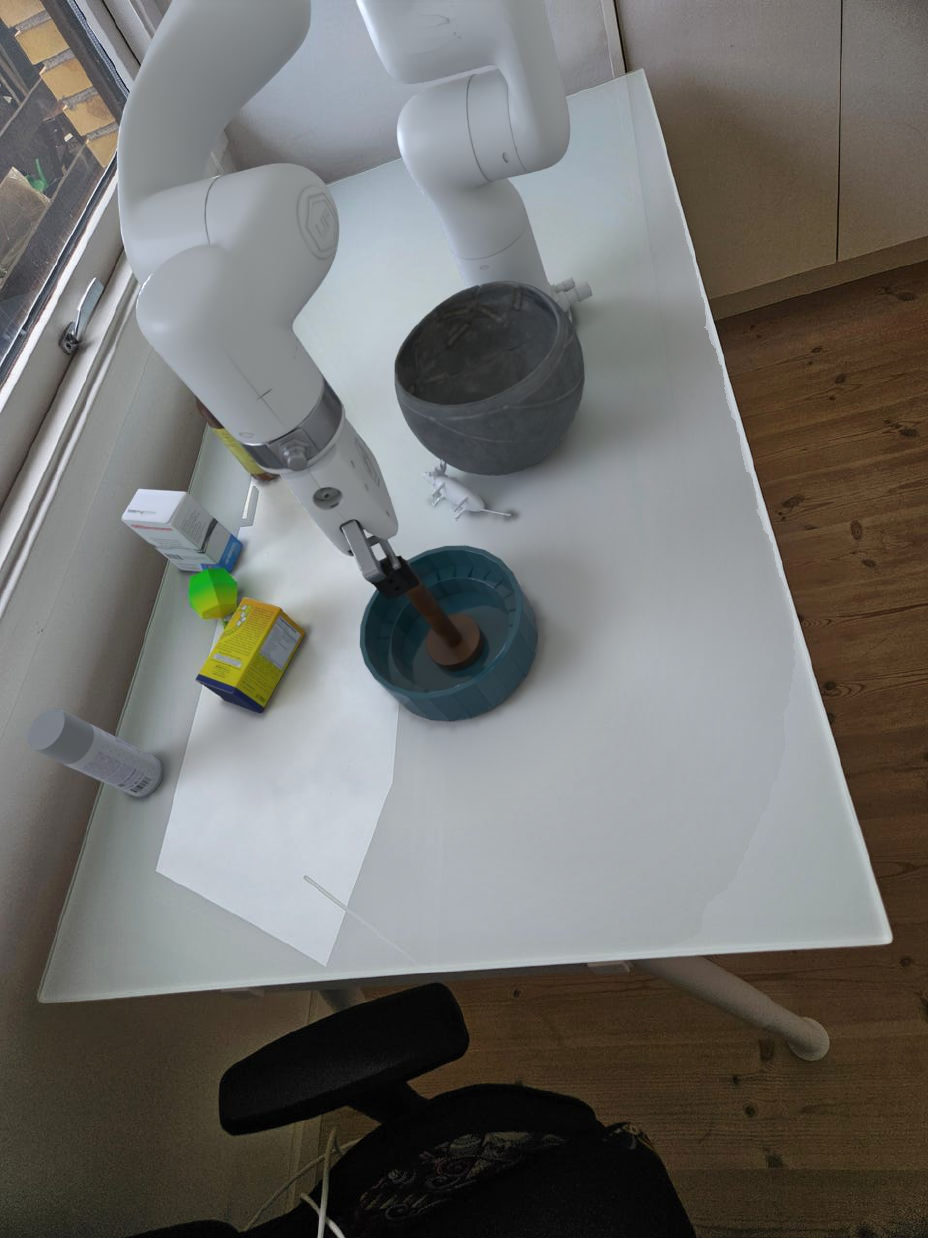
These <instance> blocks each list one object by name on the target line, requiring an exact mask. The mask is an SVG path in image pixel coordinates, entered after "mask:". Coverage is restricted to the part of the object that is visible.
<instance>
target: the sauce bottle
mask: <svg viewBox="0 0 928 1238" xmlns="http://www.w3.org/2000/svg"><path fill="white" fill-rule="evenodd" d="M193 395H194V403H195V407H196V409H197V411H198V413H199V414H200V415H201V416H202V418H203V419H204V420H205V421H206V422H207V424H208V426H209V427H210V429H211V430H212V431H213V433H214V434H215V435H216V436H217V437H218V439H220V441H221V442H222V443H223V444H224V446H225V447H226V448H227V449H228V450H229V452H230V453H231V454H232V455H233V456H234V458H235V459H236V460H237V461H238V462H239V464H240V465H241V466H242V467H243V469H244V470H245V471H246V472H247V473H249V474H250V475H251V477H252V478H254V479H255V480H257V481H261V482H267V481H271V480H273V479H275V478H277V477H278V476H280V474H273V473H269V472H267V471H265V470H263V469H261V468H260V467H259V466H258V465H257V463H256V462H255V461H254V460H253V459H252V458H251V457H250V455H249V454H248V453H247V452H246V451H245V450H244V449H243V448H242V447H241V445H240V444H239V443H238V442H237V441H236V440H235V439H234V437H233V436H232V435H231V434H230V433H229V432H228V431H227V430H226V429H225V428H224V426H223V425H222V424H221V423H220V422H219V421H218V420H217V419H216V417H215V416H214V415H213V414H212V413H211V412H210V411H209V410H208V409H207V407H206V406H205V405H204V404H203V403H202V402H201V401H200V400H199V398H198V397H197V396H196V395H195V394H194V393H193Z"/></svg>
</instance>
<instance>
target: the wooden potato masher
mask: <svg viewBox="0 0 928 1238" xmlns="http://www.w3.org/2000/svg"><path fill="white" fill-rule="evenodd" d="M403 559H404V560H405V562H406V563H407V564H408V566H409V567H410V568H411V570H412V571H413V572H414V573H415V575H416V576H417V577H418V580H419V582H420V584H419V585H418V586H417V587H415V588H413V589H411V590H409V591H407V592H406V593H405V595H406V596H407V598H408V599H409V600H410V601H411V603H412V604H413V605H414V606H415V608H416V609H417V610H418V612H419V613H420V614H421V615H422V617H423V618H424V619H425V620H426V622H427V623H428V624H429V625H430V627H431V629H430V631H429V633H428V635H427V638H426V650H427V653H428V655H429V657H430V658H431V659H432V660H433V661H434V663H435V664H436V665H437V666H438V667H440V668H441V669H443V670H446V671H460V670H463V669H466V668H468V667H469V666H471V665H472V664H473V663H475V662H476V661H477V659H478V658H479V657H480V655H481V653H482V651H483V648H484V635H483V632H482V630H481V629H480V627H479V626H478V624H477V623H476V622H475V620H474V619H472V618H471V617H469V616H467V615H464V614H451V615H448V616H447V615H446V613H445V612H444V611H443V609H442V608H441V606H440V605H439V604H438V602H437V601H436V600H435V598H434V597H433V596H432V594H431V593H430V591H429V590H428V589H427V587H426V586H425V585H424V583H423V582H422V581H421V579H420V578H419V576H418V575H417V574H416V572H415V571H414V570H413V568H412V567H411V566H410V564H409V563H408V562H407V560H408V559H405V558H403Z"/></svg>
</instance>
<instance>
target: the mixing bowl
mask: <svg viewBox="0 0 928 1238" xmlns="http://www.w3.org/2000/svg"><path fill="white" fill-rule="evenodd" d="M406 560H407V562H408V563H409V564H410V566H411V567H412V568H413V570H414V571H415V572H416V574H417V575H418V576H419V578H420V579H421V581H422V582H423V583H424V585H425V586H426V587H427V589H428V590H429V591H430V593H431V594H432V596H433V597H434V598H435V600H436V601H437V602H438V604H439V605H440V606H441V608H442V609H443V611H444V612H445V613H446V615H447V616H448V615H451V614H464V615H467V616H469V617H471V618H472V619H474V620H475V622H476V623H477V624H478V626H479V627H480V629H481V630H482V632H483V635H484V648H483V651H482V653H481V655H480V657H479V658H478V659H477V661H476V662H475V663H473V664H472V665H471V666H469V667H468V668H466V669H463V670H460V671H446V670H443V669H441V668H440V667H438V666H437V665H436V664H435V663H434V661H433V660H432V659H431V658H430V657H429V655H428V653H427V650H426V638H427V635H428V633H429V631H430V629H431V627H430V625H429V624H428V623H427V622H426V620H425V619H424V618H423V617H422V615H421V614H420V613H419V612H418V610H417V609H416V608H415V606H414V605H413V604H412V603H411V601H410V600H409V599H408V598H407V596H406V595H405V594H403V595H400V596H397V597H394V598H392V599H390V600H387V599H385V598H384V596H383V595H382V594H381V593H380V592H379V591H378V590H377V588H376V587H375V590H374V592H373V594H372V595H371V597H370V599H369V601H368V603H367V604H366V606H365V609H364V612H363V615H362V619H361V622H360V626H359V648H360V652H361V655H362V659H363V663H364V665H365V667H366V668H367V669H368V671H369V673H370V674H371V676H372V678H373V679H374V680H375V681H376V682H377V683H378V684H380V686H381V687H382V688H383V689H384V690H385V691H387V693H389V694H390V696H391V697H393V699H395V701H396V702H397V703H399V704H400V705H401V706H403V707H404V708H405V709H406V710H408V712H410V713H412V714H413V715H416V716H419V717H422V718H425V719H426V720H429V721H435V722H447V723H448V722H449V723H450V722H456V721H461V720H467V719H472V718H476V717H477V716H480V715H481V714H484V713H485V712H486V713H487V712H488V711H490V710H492V709H494V708H496V707H497V706H498V705H500V704H501V703H502V702H503V701H505V700H506V699H508V697H509V696H511V695H512V694H513V693H514V692H515V690H516V689H517V688H518V687H519V685H520V684H521V683H522V682H523V681H524V679H526V677H527V675H528V672H529V670H530V669H531V666H532V664H533V662H534V661H535V660H534V659H535V658H536V657H535V656H536V653H537V652H536V651H537V646H538V641H539V631H538V623H537V617H536V614H535V612H534V610H533V608H532V605H531V603H530V601H529V599H528V597H527V595H526V593H525V592H524V590H523V588H522V587H521V584H520V583H519V580H518V579H517V577H516V575H515V573H514V572H513V571H512V570H511V568H510V567H509V566H508V565H507V564H506V563H505V562H504V560H502V559H501V558H499V557H498V556H496V555H495V554H493V553H491V552H489V551H487V550H486V549H482V548H478V547H474V546H470V545H465V544H464V545H443V546H439V547H437V548H432V549H427V550H425V551H422V552H421V553H418V554H417V555H415V556H414V555H413V556H412V557H410V558H408V559H406Z"/></svg>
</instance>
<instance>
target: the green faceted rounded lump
mask: <svg viewBox="0 0 928 1238" xmlns="http://www.w3.org/2000/svg"><path fill="white" fill-rule="evenodd" d="M238 590H239V589H238V581H237V580H236V579H235V578H234V577H233V576H232V575H231V573H230V574H229V573H228V572H227V571H226V570H225V568H221V569H206V570H204V571H202V572H197V573H195V574H194V575H192V576H189V583H188V593H187V595H188V602H189V606H190V607H191V609H192V610H193V611H194V612H195V613H196V614H197V615H198V616H199V617H200V619H201V620H202V621H203V620H205V621H206V620H220V621H221V624H222V627H223V631H224V630H225V628H226V626H227V625H228V623H229V621H230V620H225V619H224V618H226V617H228V616H229V615H232V614H234V613H235V611H236V610H237V608H238V595H239V593H238Z"/></svg>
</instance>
